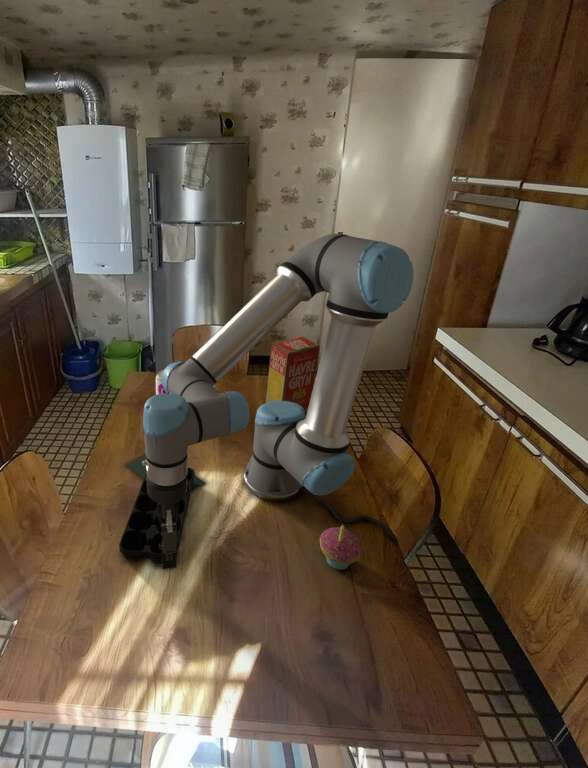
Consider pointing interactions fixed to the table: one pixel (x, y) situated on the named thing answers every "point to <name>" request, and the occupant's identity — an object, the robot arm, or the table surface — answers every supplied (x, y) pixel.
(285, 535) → the table surface
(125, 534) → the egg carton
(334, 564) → the cupcake
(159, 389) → the supplement can
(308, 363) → the food packaging
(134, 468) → the mat
